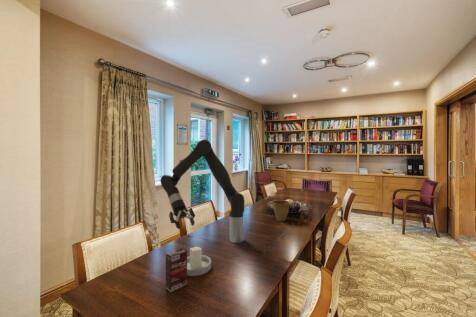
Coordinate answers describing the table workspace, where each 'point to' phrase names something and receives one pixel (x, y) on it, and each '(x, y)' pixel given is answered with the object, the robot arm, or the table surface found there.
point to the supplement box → (176, 269)
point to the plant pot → (281, 209)
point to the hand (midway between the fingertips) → (186, 226)
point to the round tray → (199, 270)
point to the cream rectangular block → (195, 257)
